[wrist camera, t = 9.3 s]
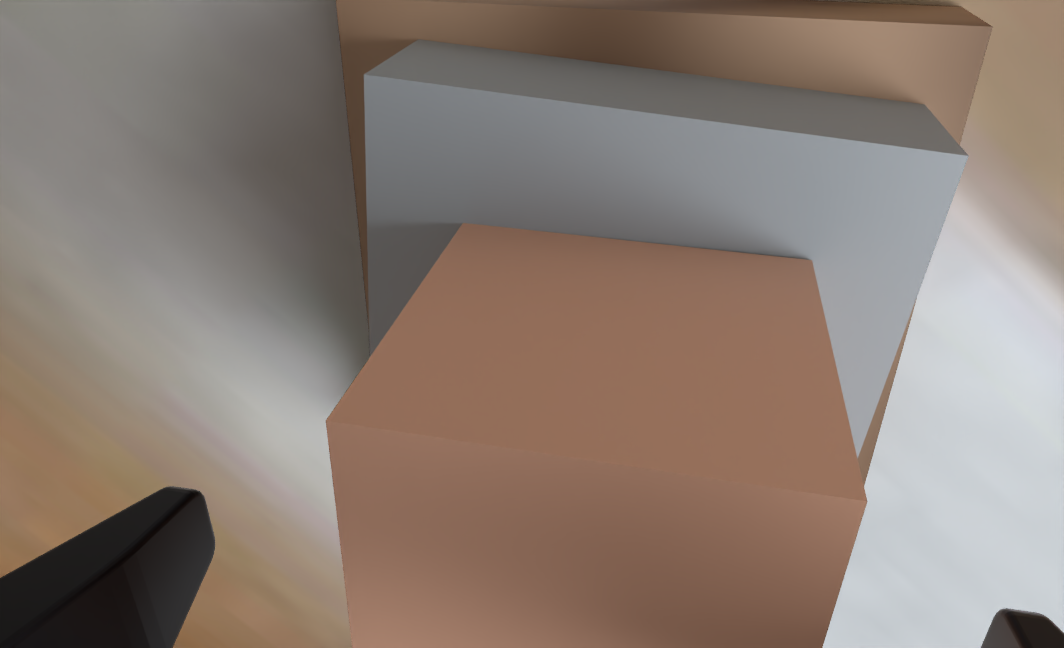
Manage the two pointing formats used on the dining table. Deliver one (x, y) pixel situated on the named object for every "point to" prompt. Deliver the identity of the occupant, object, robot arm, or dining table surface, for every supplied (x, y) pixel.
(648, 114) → the top block
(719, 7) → the bottom block
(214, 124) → the dining table surface
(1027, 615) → the robot arm
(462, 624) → the terracotta cube
